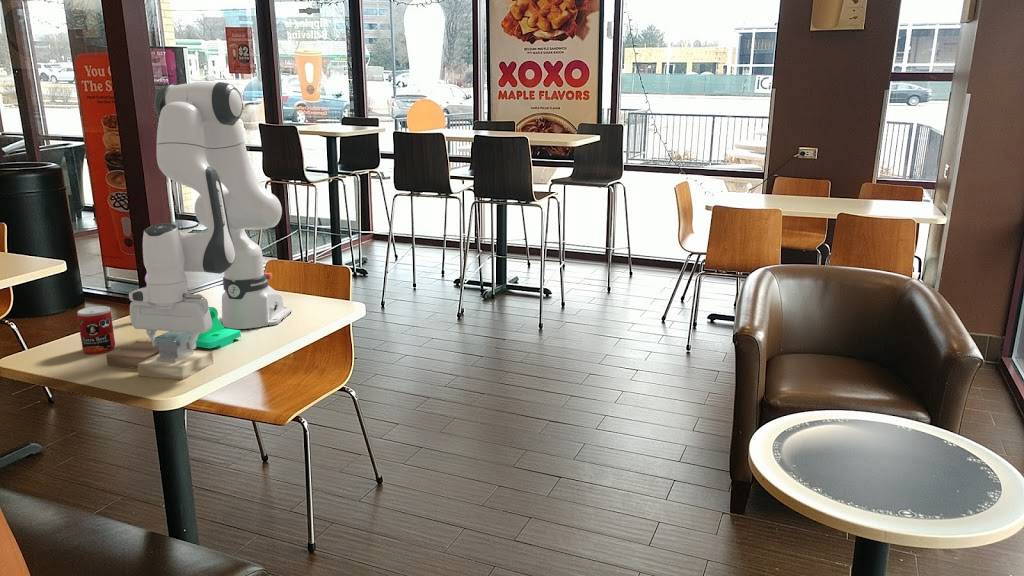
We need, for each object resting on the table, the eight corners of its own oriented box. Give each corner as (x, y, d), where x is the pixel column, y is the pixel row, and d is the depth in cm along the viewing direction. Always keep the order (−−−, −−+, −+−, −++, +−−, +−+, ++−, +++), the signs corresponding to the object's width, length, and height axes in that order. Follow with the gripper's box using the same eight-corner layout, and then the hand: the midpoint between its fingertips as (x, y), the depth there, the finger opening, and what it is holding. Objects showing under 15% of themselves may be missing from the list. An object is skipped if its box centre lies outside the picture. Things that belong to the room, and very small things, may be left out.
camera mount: (211, 352, 202) (207, 314, 199) (188, 349, 204) (184, 311, 202) (243, 339, 212) (239, 303, 210) (221, 336, 215) (217, 301, 213)
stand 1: (138, 352, 202) (136, 341, 201) (175, 354, 199) (173, 343, 198) (107, 365, 191) (106, 354, 190) (146, 369, 189) (144, 357, 188)
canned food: (79, 355, 199) (73, 314, 196) (87, 346, 206) (81, 307, 204) (112, 353, 201) (106, 312, 198) (118, 344, 208) (113, 304, 206)
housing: (157, 361, 185) (154, 337, 184) (175, 352, 192) (173, 329, 190) (175, 363, 184) (172, 339, 183) (193, 353, 191) (191, 330, 189)
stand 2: (171, 359, 196) (170, 348, 195) (213, 363, 193) (212, 351, 192) (139, 375, 184) (137, 364, 183) (183, 379, 181) (181, 367, 181)
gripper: (214, 291, 185) (220, 346, 188) (140, 287, 189) (147, 341, 192) (198, 298, 179) (204, 354, 182) (122, 293, 183) (129, 348, 186)
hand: (174, 347), depth 187 cm, fingers open, 8 cm apart
